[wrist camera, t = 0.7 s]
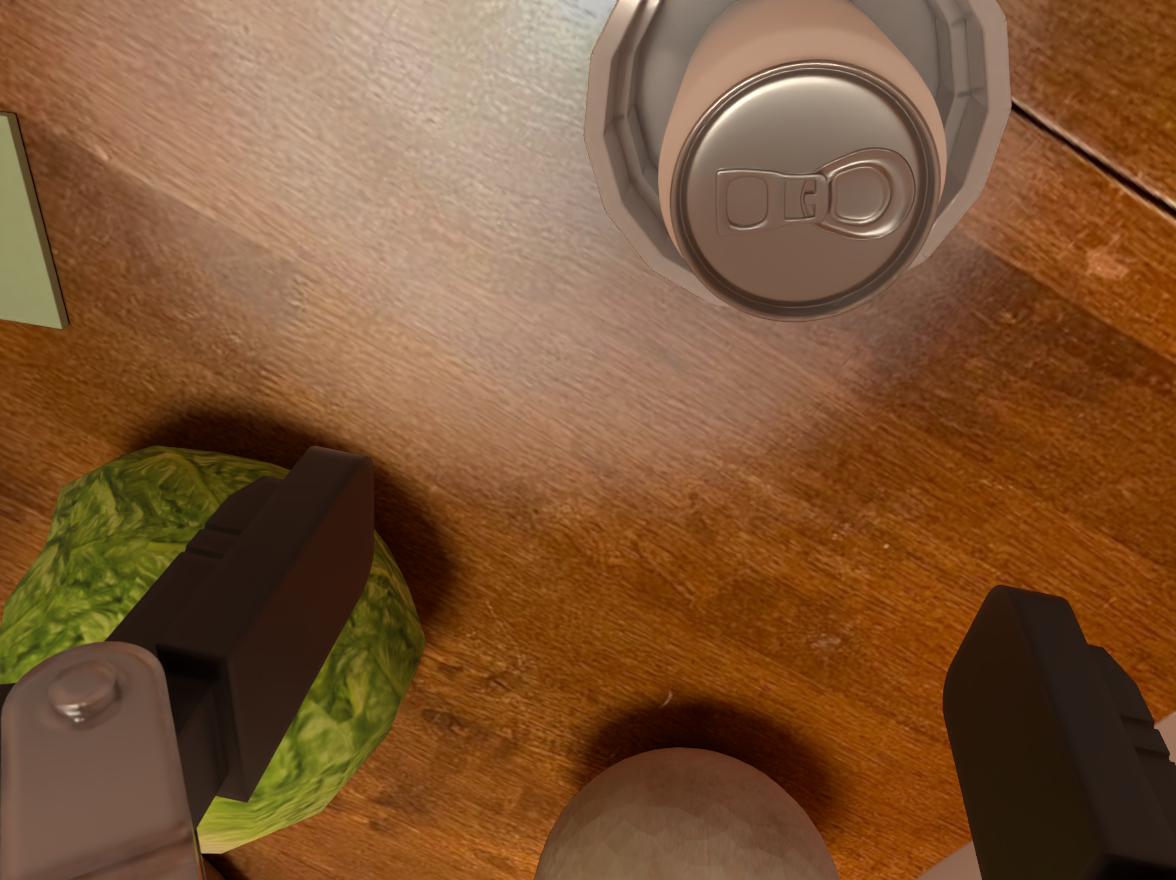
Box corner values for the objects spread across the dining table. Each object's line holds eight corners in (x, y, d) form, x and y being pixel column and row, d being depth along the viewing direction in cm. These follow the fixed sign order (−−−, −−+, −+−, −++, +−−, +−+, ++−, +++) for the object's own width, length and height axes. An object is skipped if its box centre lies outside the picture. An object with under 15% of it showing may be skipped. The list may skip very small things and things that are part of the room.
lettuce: (91, 650, 52) (-53, 908, 41) (92, 347, 36) (-140, 640, 25) (371, 718, 55) (304, 972, 45) (482, 470, 40) (421, 771, 29)
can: (878, 184, 30) (944, 337, 20) (687, 194, 31) (657, 343, 21) (894, -31, 26) (984, 21, 16) (679, -10, 27) (639, 50, 17)
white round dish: (631, -140, 26) (608, -146, 22) (1027, -95, 25) (1082, -92, 21) (592, 232, 32) (569, 283, 28) (907, 279, 31) (931, 339, 27)
